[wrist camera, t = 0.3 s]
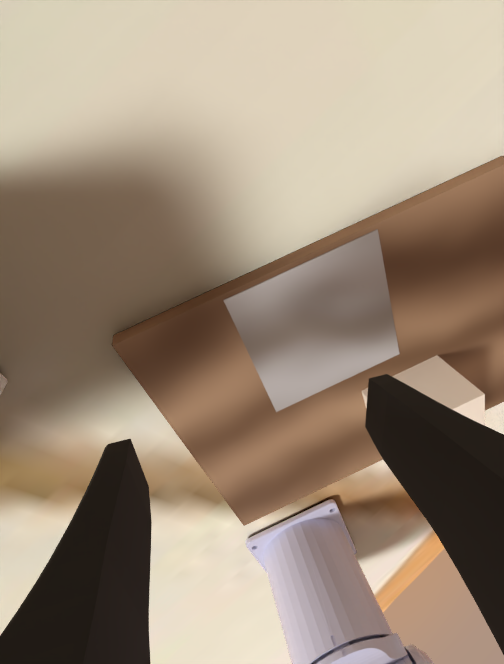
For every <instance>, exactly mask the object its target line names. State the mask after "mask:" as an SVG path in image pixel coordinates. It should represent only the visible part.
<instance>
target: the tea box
mask: <svg viewBox="0 0 504 664" xmlns="http://www.w3.org/2000/svg"><path fill="white" fill-rule="evenodd" d="M6 384H7V379H6V378H5V377H4V376H3V375H2V374H1V373H0V395H1V393H2V391H3V389H4V387H5V385H6Z"/></svg>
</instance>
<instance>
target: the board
mask: <svg viewBox="0 0 504 664" xmlns="http://www.w3.org/2000/svg"><path fill="white" fill-rule="evenodd" d="M112 346H113V347H114V349H115V350H116V352H117V353H118V354H119V356H120V357H121V358H122V360H123V361H124V362H125V364H126V365H127V367H128V368H129V369H130V371H131V372H132V373H133V375H134V376H135V378H136V379H137V380H138V382H139V383H140V384H141V386H142V387H143V388H144V390H145V391H146V393H147V394H148V395H149V397H150V398H151V399H152V401H153V402H154V403H155V405H156V406H157V408H158V409H159V410H160V412H161V413H162V414H163V416H164V417H165V419H166V420H167V421H168V423H169V424H170V425H171V427H172V428H173V429H174V431H175V432H176V434H177V435H178V436H179V438H180V439H181V440H182V442H183V443H184V444H185V446H186V447H187V449H188V450H189V451H190V453H191V454H192V455H193V457H194V458H195V460H196V461H197V462H198V464H199V465H200V466H201V468H202V469H203V470H204V472H205V473H206V475H207V476H208V477H209V479H210V480H211V481H212V483H213V484H214V485H215V487H216V488H217V490H218V491H219V492H220V494H221V495H222V496H223V498H224V499H225V501H226V502H227V503H228V505H229V506H230V507H231V509H232V510H233V511H234V513H235V514H236V516H237V517H238V518H239V520H240V521H241V522H242V524H243V525H247V524H249V523H251V522H253V521H255V520H257V519H259V518H261V517H263V516H265V515H267V514H270V513H272V512H274V511H276V510H278V509H280V508H282V507H284V506H286V505H288V504H291V503H293V502H295V501H297V500H299V499H301V498H303V497H305V496H307V495H309V494H311V493H314V492H316V491H318V490H320V489H322V488H324V487H326V486H328V485H330V484H332V483H334V482H337V481H339V480H341V479H343V478H345V477H347V476H349V475H351V474H353V473H355V472H357V471H360V470H362V469H364V468H366V467H368V466H370V465H372V464H374V463H376V462H378V461H380V460H383V458H382V457H381V455H380V453H379V452H378V450H377V448H376V446H375V444H374V443H373V441H372V439H371V437H370V435H369V433H368V431H367V429H366V428H365V421H366V406H365V402H364V398H363V395H362V390H364V389H367V388H368V382H369V378H372V377H376V376H380V375H384V374H388V375H390V376H394V375H396V374H398V373H400V372H403V371H405V370H407V369H409V368H411V367H413V366H415V365H417V364H419V363H422V362H424V361H426V360H428V359H430V358H432V357H434V356H436V355H437V356H439V357H440V358H441V359H442V360H444V361H445V362H446V363H447V364H449V365H450V366H451V367H452V368H453V369H455V370H456V371H457V372H458V373H460V374H461V375H462V376H463V377H464V378H466V379H467V380H468V381H469V382H471V383H472V384H473V385H474V386H476V387H477V388H478V389H479V390H480V391H482V392H483V393H484V394H485V410H487V409H489V408H491V407H493V406H496V405H498V404H500V403H502V402H504V157H502V156H501V157H499V158H497V159H494V160H492V161H490V162H488V163H486V164H484V165H481V166H479V167H477V168H475V169H473V170H471V171H468V172H466V173H464V174H462V175H460V176H458V177H455V178H453V179H451V180H449V181H447V182H445V183H442V184H440V185H438V186H436V187H434V188H432V189H429V190H427V191H425V192H423V193H421V194H419V195H416V196H414V197H412V198H410V199H408V200H406V201H403V202H401V203H399V204H397V205H395V206H393V207H390V208H388V209H386V210H384V211H382V212H380V213H377V214H375V215H373V216H371V217H369V218H366V219H364V220H362V221H360V222H358V223H356V224H353V225H351V226H349V227H347V228H345V229H343V230H340V231H338V232H336V233H334V234H332V235H330V236H327V237H325V238H323V239H321V240H319V241H317V242H314V243H312V244H310V245H308V246H306V247H304V248H301V249H299V250H297V251H295V252H293V253H291V254H288V255H286V256H284V257H282V258H280V259H278V260H275V261H273V262H271V263H269V264H267V265H265V266H262V267H260V268H258V269H256V270H254V271H252V272H249V273H247V274H245V275H243V276H241V277H239V278H236V279H234V280H232V281H230V282H228V283H226V284H223V285H221V286H219V287H217V288H215V289H213V290H210V291H208V292H206V293H204V294H202V295H200V296H197V297H195V298H193V299H191V300H189V301H187V302H184V303H182V304H180V305H178V306H176V307H174V308H171V309H169V310H167V311H165V312H163V313H161V314H158V315H156V316H154V317H152V318H150V319H148V320H145V321H143V322H141V323H139V324H137V325H135V326H132V327H130V328H128V329H126V330H124V331H122V332H119V333H117V334H115V335H113V342H112Z"/></svg>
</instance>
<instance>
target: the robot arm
mask: <svg viewBox="0 0 504 664" xmlns="http://www.w3.org/2000/svg"><path fill="white" fill-rule="evenodd" d="M365 428H366V429H367V431H368V433H369V435H370V437H371V439H372V441H373V443H374V444H375V446H376V448H377V450H378V452H379V453H380V455H381V457H382V458H383V460H384V461H385V462H386V464H387V465H388V467H389V468H390V469H391V471H392V472H393V474H394V475H395V476H396V478H397V479H398V481H399V482H400V483H401V485H402V486H403V488H404V489H405V490H406V492H407V493H408V494H409V496H410V497H411V499H412V500H413V501H414V503H415V504H416V505H417V507H418V508H419V510H420V511H421V512H422V514H423V515H424V517H425V518H426V519H427V521H428V522H429V524H430V525H431V527H432V528H433V530H434V531H435V533H436V534H437V536H438V537H439V539H440V541H441V543H442V544H443V546H444V548H445V549H446V551H447V553H448V554H449V556H450V558H451V559H452V561H453V563H454V564H455V566H456V568H457V569H458V571H459V573H460V575H461V577H462V578H463V580H464V582H465V584H466V586H467V587H468V589H469V591H470V593H471V594H472V596H473V598H474V600H475V602H476V603H477V605H478V607H479V609H480V611H481V613H482V615H483V616H484V618H485V620H486V622H487V624H488V626H489V628H490V630H491V632H492V633H493V635H494V637H495V639H496V641H497V643H498V644H499V647H500V649H501V650H502V652H503V654H504V435H503V434H501V433H499V432H497V431H495V430H493V429H490V428H488V427H486V426H484V425H482V424H480V423H478V422H476V421H474V420H472V419H470V418H468V417H466V416H464V415H462V414H460V413H458V412H456V411H454V410H452V409H450V408H448V407H447V406H445V405H443V404H441V403H439V402H437V401H435V400H434V399H432V398H430V397H428V396H426V395H425V394H423V393H421V392H419V391H417V390H416V389H414V388H412V387H410V386H408V385H407V384H405V383H403V382H401V381H399V380H398V379H396V378H394V377H392V376H390V375H388V374H384V375H380V376H376V377H372V378H369V382H368V395H367V408H366V421H365ZM246 546H247V548H248V549H249V551H250V552H251V553H252V554H253V556H254V557H255V558H256V560H257V561H258V562H259V563H260V565H261V566H262V567H263V569H264V570H265V571H266V573H267V574H268V578H269V582H270V585H271V589H272V593H273V596H274V600H275V604H276V607H277V611H278V615H279V618H280V622H281V625H282V629H283V633H284V636H285V640H286V644H287V647H288V651H289V655H290V658H291V662H292V664H434V663H433V662H432V660H431V659H430V658H429V656H428V655H427V654H426V653H425V652H423V651H422V650H420V649H418V648H417V647H416V646H414V645H412V644H410V645H408V646H406V647H405V648H404V646H403V644H402V642H401V640H400V638H399V636H398V634H397V633H394V634H393V633H392V632H391V629H390V627H389V625H388V623H387V621H386V619H385V617H384V614H383V612H382V610H381V608H380V606H379V604H378V602H377V600H376V598H375V596H374V594H373V592H372V590H371V588H370V586H369V584H368V581H367V579H366V577H365V575H364V573H363V571H362V569H361V567H360V565H359V563H358V561H357V559H356V557H355V554H356V549H355V546H354V544H353V542H352V539H351V537H350V535H349V532H348V530H347V528H346V525H345V523H344V521H343V518H342V516H341V514H340V511H339V509H338V507H337V504H336V502H335V501H334V500H333V499H330V500H327V501H325V502H323V503H321V504H319V505H317V506H314V507H312V508H310V509H308V510H306V511H304V512H302V513H300V514H298V515H296V516H294V517H292V518H289V519H287V520H285V521H283V522H281V523H279V524H277V525H275V526H273V527H271V528H269V529H266V530H264V531H262V532H260V533H258V534H256V535H254V536H252V537H250V538H248V539H247V540H246ZM150 553H151V511H150V498H149V487H148V484H147V481H146V478H145V476H144V473H143V471H142V468H141V465H140V463H139V460H138V457H137V455H136V452H135V449H134V447H133V444H132V442H131V439H127V440H123V441H119V442H115V443H111V444H108V445H107V446H106V448H105V449H104V452H103V454H102V457H101V459H100V461H99V464H98V466H97V468H96V470H95V473H94V475H93V477H92V479H91V481H90V484H89V486H88V488H87V490H86V492H85V494H84V496H83V498H82V500H81V502H80V504H79V506H78V508H77V510H76V512H75V514H74V516H73V518H72V520H71V522H70V524H69V526H68V528H67V530H66V531H65V533H64V535H63V537H62V538H61V540H60V542H59V544H58V546H57V547H56V549H55V551H54V553H53V555H52V556H51V558H50V560H49V562H48V563H47V565H46V567H45V568H44V570H43V572H42V573H41V575H40V577H39V578H38V580H37V581H36V583H35V585H34V586H33V588H32V589H31V591H30V592H29V594H28V596H27V597H26V599H25V600H24V602H23V603H22V605H21V606H20V608H19V609H18V611H17V612H16V614H15V615H14V617H13V618H12V620H11V621H10V622H9V624H8V625H7V627H6V628H5V630H4V631H3V633H2V634H1V635H0V664H150V649H149V582H150Z"/></svg>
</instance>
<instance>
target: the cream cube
mask: <svg viewBox="0 0 504 664" xmlns="http://www.w3.org/2000/svg"><path fill="white" fill-rule="evenodd" d="M392 377H394V378H396V379H398V380H399V381H401V382H403V383H405V384H407V385H408V386H410V387H412V388H414V389H416V390H417V391H419V392H421V393H423V394H425V395H426V396H428V397H430V398H432V399H434V400H435V401H437V402H439V403H441V404H443V405H445V406H447V407H448V408H450V409H452V410H454V411H456V412H458V413H460V414H462V415H464V416H466V417H468V418H470V419H472V420H474V421H476V422H478V423H480V424H482V425H484V426H485V394H484V393H483V392H482V391H480V390H479V389H478V388H477V387H476V386H474V385H473V384H472V383H471V382H469V381H468V380H467V379H466V378H464V377H463V376H462V375H461V374H460V373H458V372H457V371H456V370H455V369H453V368H452V367H451V366H450V365H449V364H447V363H446V362H445V361H444V360H442V359H441V358H440V357H439V356H437V355H436V356H434V357H432V358H430V359H428V360H426V361H424V362H422V363H419V364H417V365H415V366H413V367H411V368H409V369H407V370H405V371H403V372H400V373H398V374H396V375H394V376H392ZM362 395H363V398H364V402H365V406H366V408H367V395H368V388H367V389H364V390H362Z"/></svg>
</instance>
